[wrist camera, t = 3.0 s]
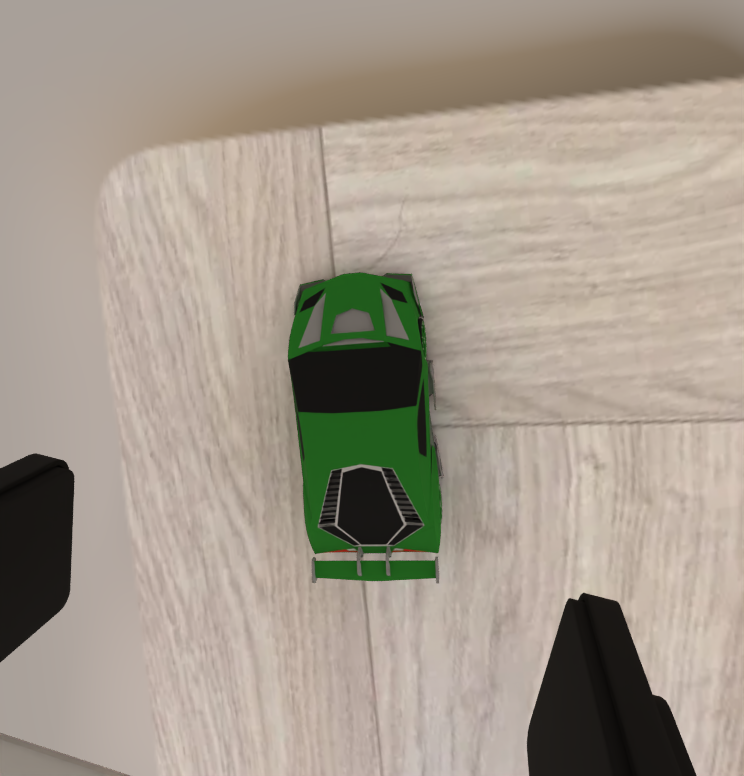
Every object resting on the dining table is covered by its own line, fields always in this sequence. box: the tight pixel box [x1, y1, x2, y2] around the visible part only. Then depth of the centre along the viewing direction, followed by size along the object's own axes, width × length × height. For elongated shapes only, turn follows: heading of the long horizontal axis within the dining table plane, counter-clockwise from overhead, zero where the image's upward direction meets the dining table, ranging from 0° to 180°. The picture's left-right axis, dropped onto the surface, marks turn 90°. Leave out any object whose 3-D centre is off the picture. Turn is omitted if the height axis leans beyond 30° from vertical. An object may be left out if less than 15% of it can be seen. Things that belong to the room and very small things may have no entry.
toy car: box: [288, 272, 444, 583], centre depth 19 cm, size 10×5×2 cm, turn 6°
